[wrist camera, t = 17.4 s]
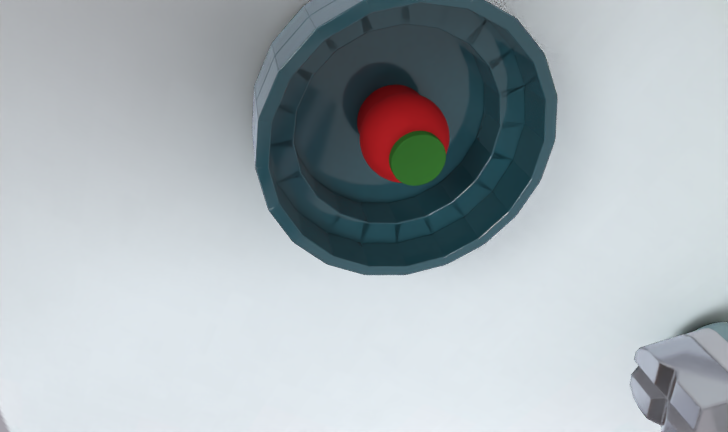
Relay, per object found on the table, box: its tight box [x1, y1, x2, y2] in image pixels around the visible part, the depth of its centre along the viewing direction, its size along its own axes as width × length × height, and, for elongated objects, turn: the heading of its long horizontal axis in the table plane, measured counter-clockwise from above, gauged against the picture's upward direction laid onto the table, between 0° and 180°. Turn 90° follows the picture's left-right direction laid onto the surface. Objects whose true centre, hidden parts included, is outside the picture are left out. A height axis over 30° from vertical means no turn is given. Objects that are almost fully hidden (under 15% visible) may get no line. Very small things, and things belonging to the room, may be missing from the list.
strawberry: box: [357, 85, 449, 186], centre depth 27 cm, size 4×4×5 cm
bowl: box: [252, 0, 557, 275], centre depth 27 cm, size 14×14×5 cm
